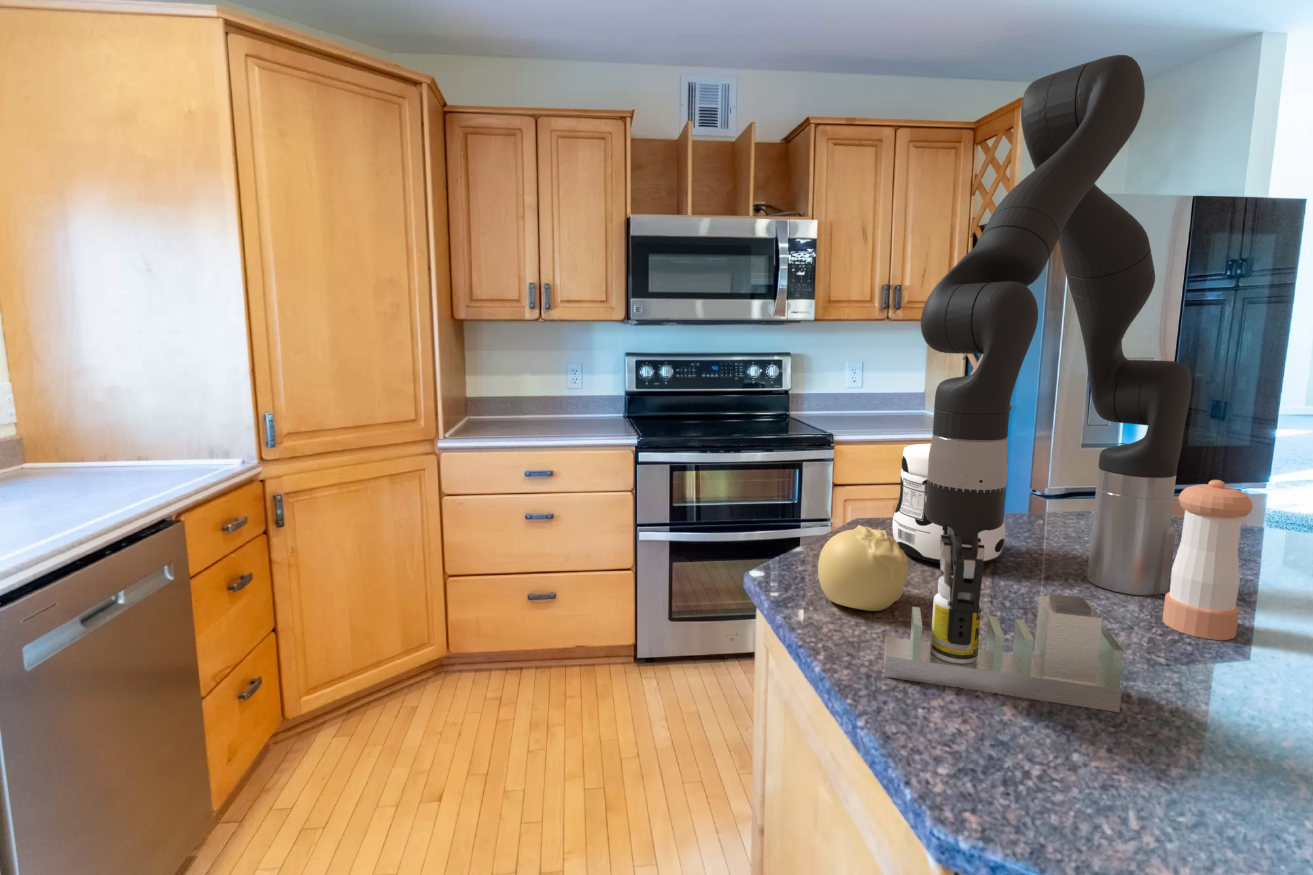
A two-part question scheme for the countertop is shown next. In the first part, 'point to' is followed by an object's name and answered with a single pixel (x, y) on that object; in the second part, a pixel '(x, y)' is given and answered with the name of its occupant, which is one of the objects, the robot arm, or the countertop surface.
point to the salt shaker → (1207, 562)
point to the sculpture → (863, 569)
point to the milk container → (911, 520)
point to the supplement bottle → (940, 626)
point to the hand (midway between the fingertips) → (955, 630)
